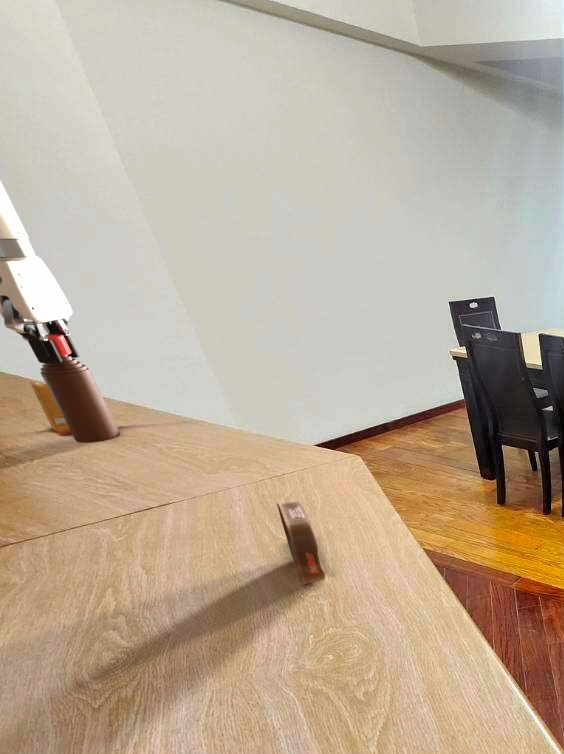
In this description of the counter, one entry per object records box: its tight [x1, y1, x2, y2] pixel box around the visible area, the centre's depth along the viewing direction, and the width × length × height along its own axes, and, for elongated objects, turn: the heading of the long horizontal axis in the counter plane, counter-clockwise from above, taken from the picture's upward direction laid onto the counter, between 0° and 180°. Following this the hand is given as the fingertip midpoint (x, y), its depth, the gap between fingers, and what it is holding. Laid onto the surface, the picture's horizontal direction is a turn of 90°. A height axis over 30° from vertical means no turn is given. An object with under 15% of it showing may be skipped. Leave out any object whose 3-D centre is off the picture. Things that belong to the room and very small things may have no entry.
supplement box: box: [30, 380, 72, 437], centre depth 116 cm, size 3×3×10 cm
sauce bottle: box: [40, 355, 121, 443], centre depth 113 cm, size 6×6×19 cm
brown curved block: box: [276, 500, 327, 586], centre depth 77 cm, size 15×3×8 cm, turn 40°
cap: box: [46, 333, 71, 356], centre depth 109 cm, size 4×4×3 cm
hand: (59, 359), depth 110 cm, fingers closed on cap, 3 cm apart
